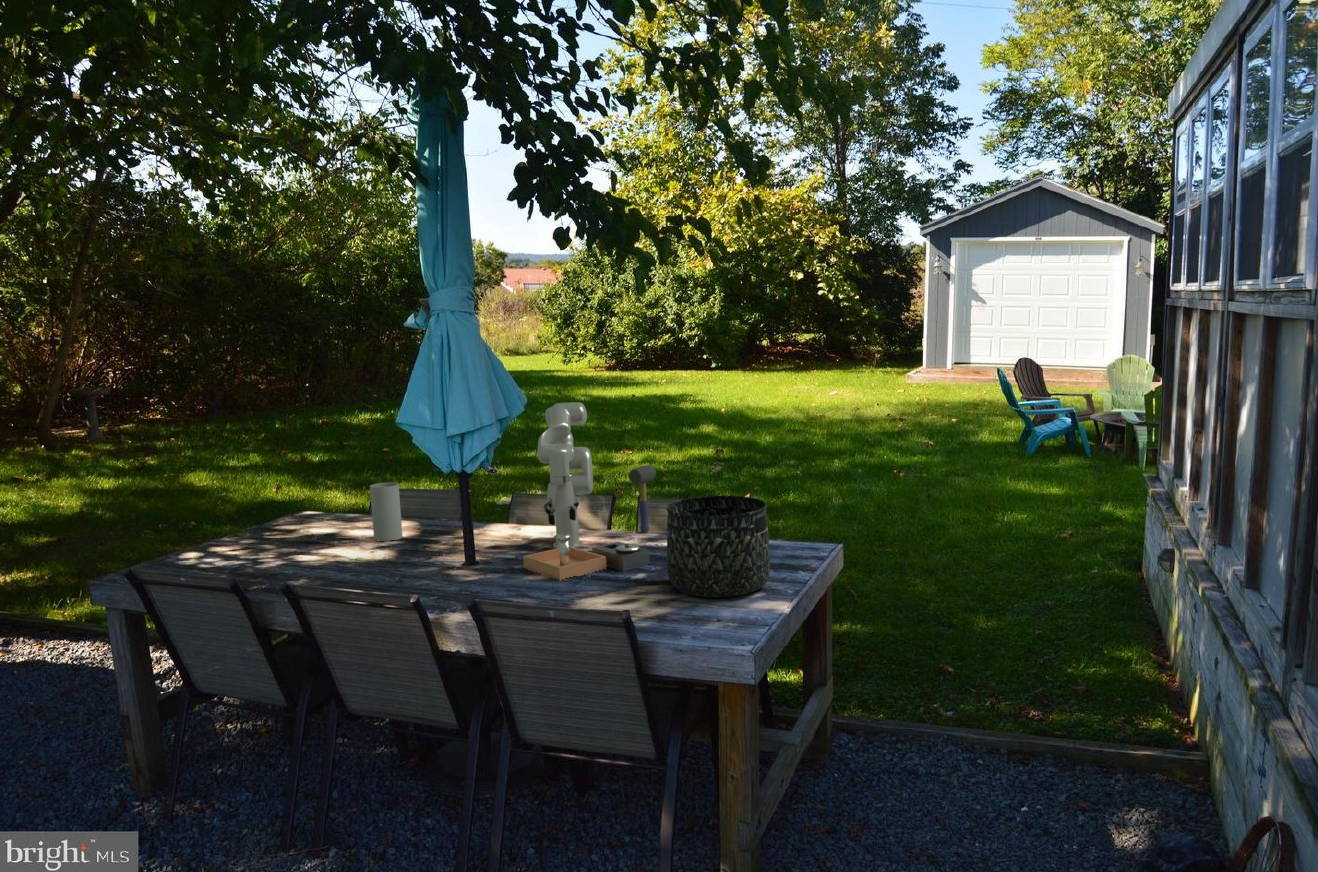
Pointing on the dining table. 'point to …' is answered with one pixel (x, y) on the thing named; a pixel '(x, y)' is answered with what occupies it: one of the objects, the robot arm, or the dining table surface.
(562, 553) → the lock pin
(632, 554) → the pulley bracket
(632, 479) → the rubber mallet
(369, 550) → the dining table surface
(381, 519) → the cylinder vase
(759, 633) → the dining table surface
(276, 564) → the dining table surface
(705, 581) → the basket
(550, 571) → the tray
